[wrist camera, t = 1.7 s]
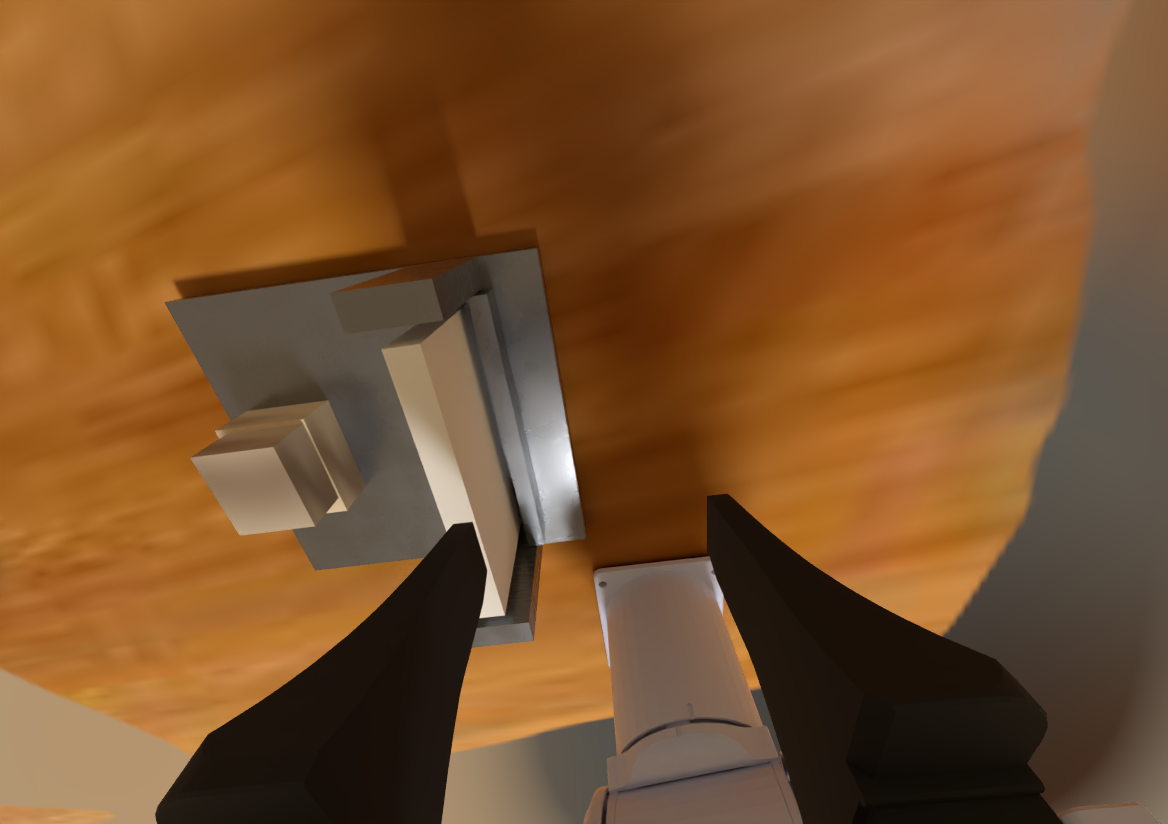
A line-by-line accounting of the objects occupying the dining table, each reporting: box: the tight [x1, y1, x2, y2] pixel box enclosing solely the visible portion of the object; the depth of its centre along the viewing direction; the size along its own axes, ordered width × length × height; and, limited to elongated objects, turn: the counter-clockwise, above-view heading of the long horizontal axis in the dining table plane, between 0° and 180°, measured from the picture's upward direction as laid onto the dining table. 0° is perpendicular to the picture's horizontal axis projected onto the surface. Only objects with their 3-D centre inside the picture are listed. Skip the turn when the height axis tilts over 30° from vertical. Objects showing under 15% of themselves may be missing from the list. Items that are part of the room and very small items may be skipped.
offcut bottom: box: [215, 400, 366, 513], centre depth 20 cm, size 5×4×2 cm
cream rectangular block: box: [381, 304, 521, 618], centre depth 18 cm, size 12×1×6 cm, turn 8°
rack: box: [165, 247, 586, 647], centre depth 19 cm, size 16×16×7 cm
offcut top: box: [191, 424, 339, 535], centre depth 18 cm, size 4×3×2 cm
